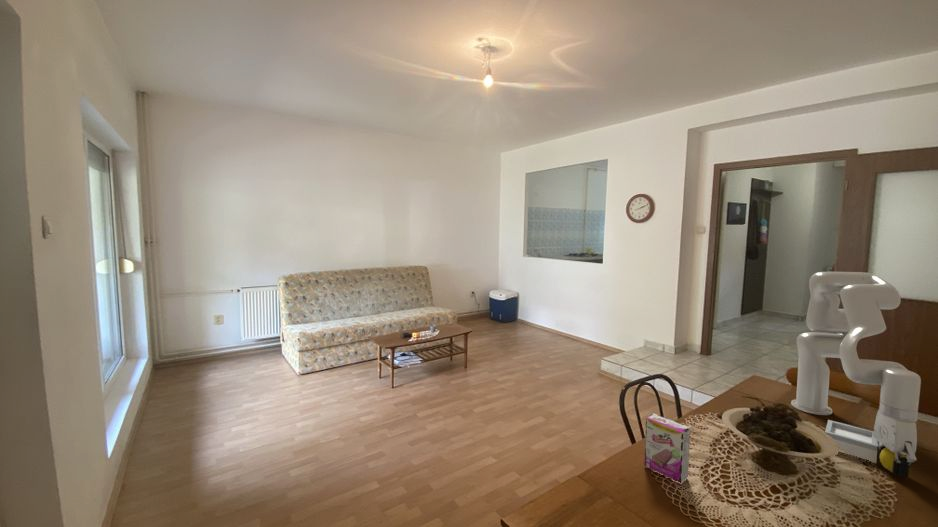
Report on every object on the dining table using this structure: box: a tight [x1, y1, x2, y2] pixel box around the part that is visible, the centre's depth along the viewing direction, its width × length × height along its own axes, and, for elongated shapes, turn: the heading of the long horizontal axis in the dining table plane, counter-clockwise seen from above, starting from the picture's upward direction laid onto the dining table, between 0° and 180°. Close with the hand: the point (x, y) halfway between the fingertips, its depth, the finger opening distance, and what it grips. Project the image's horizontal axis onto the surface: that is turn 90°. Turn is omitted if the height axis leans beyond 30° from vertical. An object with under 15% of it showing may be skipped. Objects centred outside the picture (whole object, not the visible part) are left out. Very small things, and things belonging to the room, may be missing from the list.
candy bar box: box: [643, 413, 691, 483], centre depth 114 cm, size 11×5×16 cm, turn 37°
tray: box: [824, 419, 879, 464], centre depth 127 cm, size 12×12×6 cm
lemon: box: [880, 448, 905, 473], centre depth 114 cm, size 6×6×8 cm
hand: (892, 468), depth 114 cm, fingers closed on lemon, 5 cm apart
